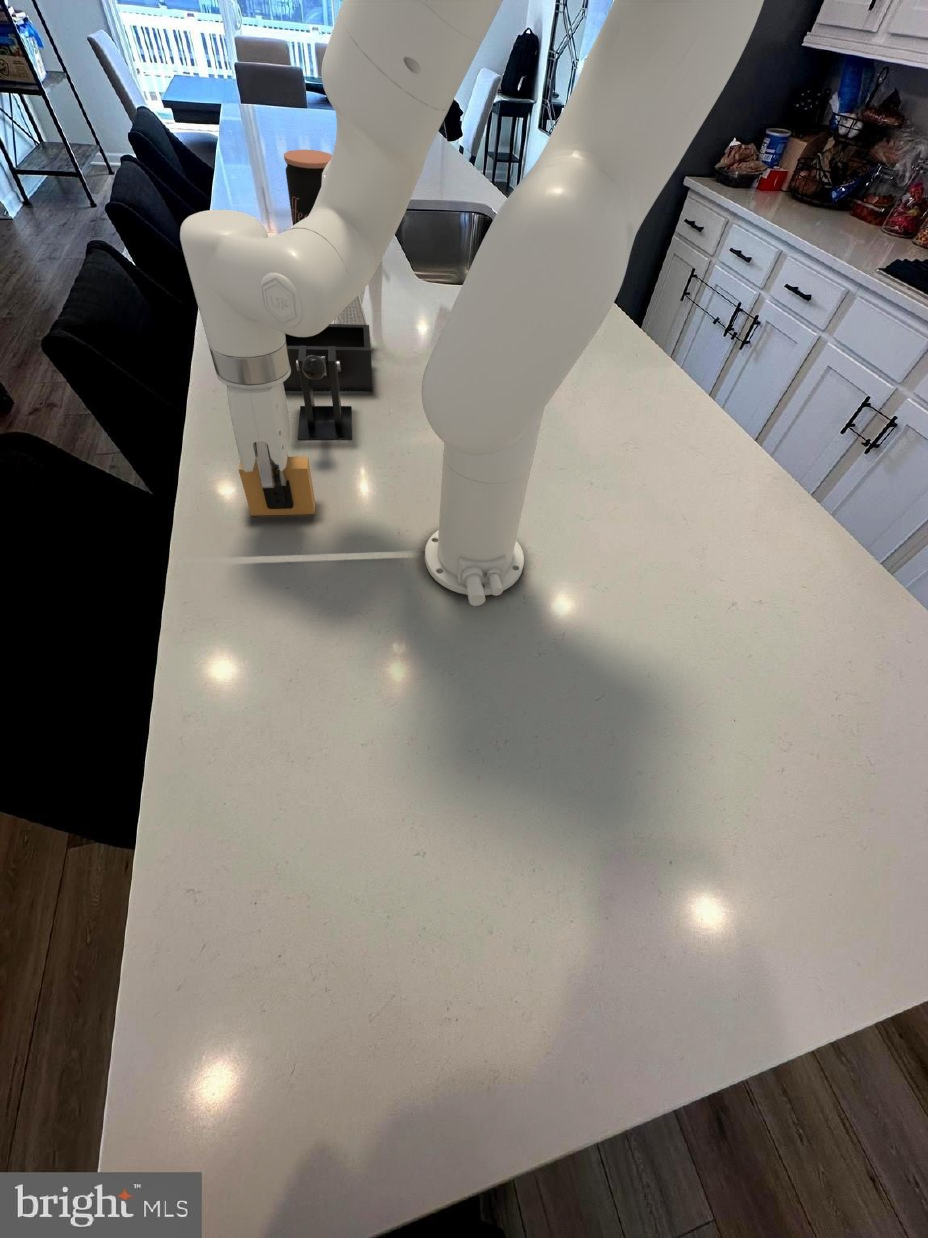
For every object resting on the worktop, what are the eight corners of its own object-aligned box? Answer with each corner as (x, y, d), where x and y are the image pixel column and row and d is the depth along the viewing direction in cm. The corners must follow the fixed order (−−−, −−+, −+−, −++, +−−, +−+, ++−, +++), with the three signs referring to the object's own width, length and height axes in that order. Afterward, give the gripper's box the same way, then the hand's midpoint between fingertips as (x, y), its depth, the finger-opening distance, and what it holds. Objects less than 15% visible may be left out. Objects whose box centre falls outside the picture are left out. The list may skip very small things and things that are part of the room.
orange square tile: (315, 519, 74) (307, 468, 68) (252, 520, 73) (238, 469, 66) (316, 506, 75) (308, 456, 69) (254, 508, 74) (240, 456, 68)
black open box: (373, 396, 94) (370, 350, 88) (280, 395, 92) (272, 348, 86) (371, 369, 100) (369, 324, 94) (284, 368, 97) (276, 322, 91)
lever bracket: (352, 445, 85) (346, 369, 76) (298, 445, 84) (285, 368, 75) (352, 412, 90) (346, 338, 81) (301, 412, 89) (289, 337, 80)
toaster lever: (326, 381, 72) (323, 355, 70) (302, 380, 71) (299, 354, 70) (330, 376, 81) (329, 353, 80) (309, 376, 81) (307, 353, 80)
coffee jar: (291, 245, 133) (278, 149, 120) (334, 242, 137) (326, 148, 123) (302, 262, 128) (290, 163, 114) (348, 259, 131) (341, 162, 117)
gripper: (223, 322, 62) (257, 462, 77) (200, 399, 52) (244, 543, 67) (293, 324, 63) (313, 461, 78) (283, 399, 53) (309, 541, 68)
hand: (281, 498), depth 72 cm, fingers closed on orange square tile, 2 cm apart
